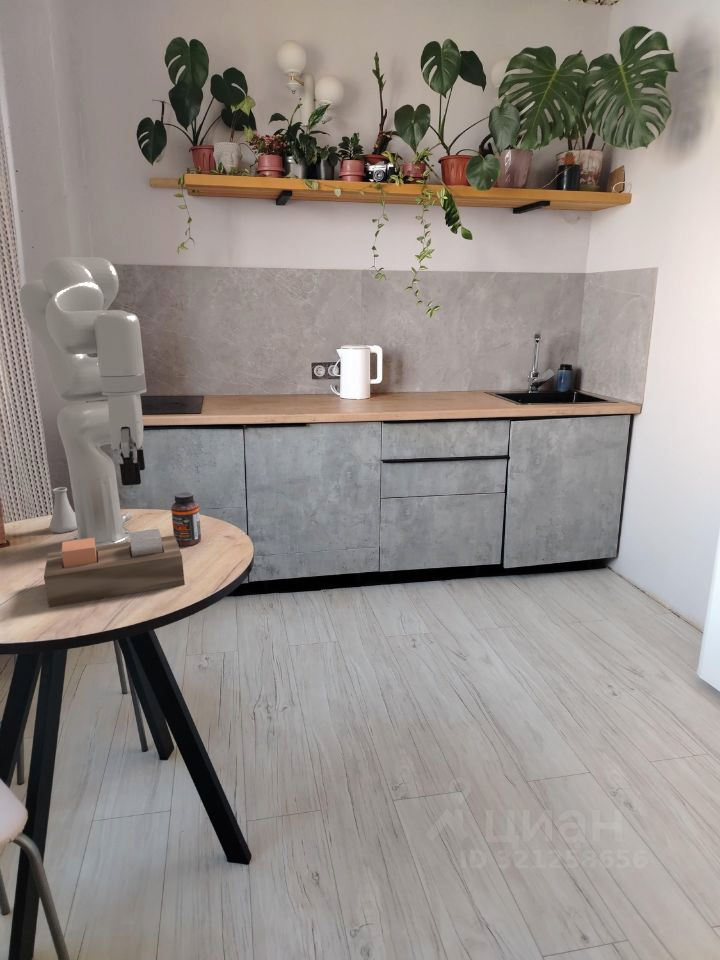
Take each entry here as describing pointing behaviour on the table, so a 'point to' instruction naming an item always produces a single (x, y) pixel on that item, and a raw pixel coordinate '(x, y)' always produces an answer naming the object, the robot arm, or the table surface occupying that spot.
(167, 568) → the button console
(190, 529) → the supplement bottle
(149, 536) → the metal button
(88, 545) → the terracotta button
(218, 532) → the table surface
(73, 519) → the flask
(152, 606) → the table surface
